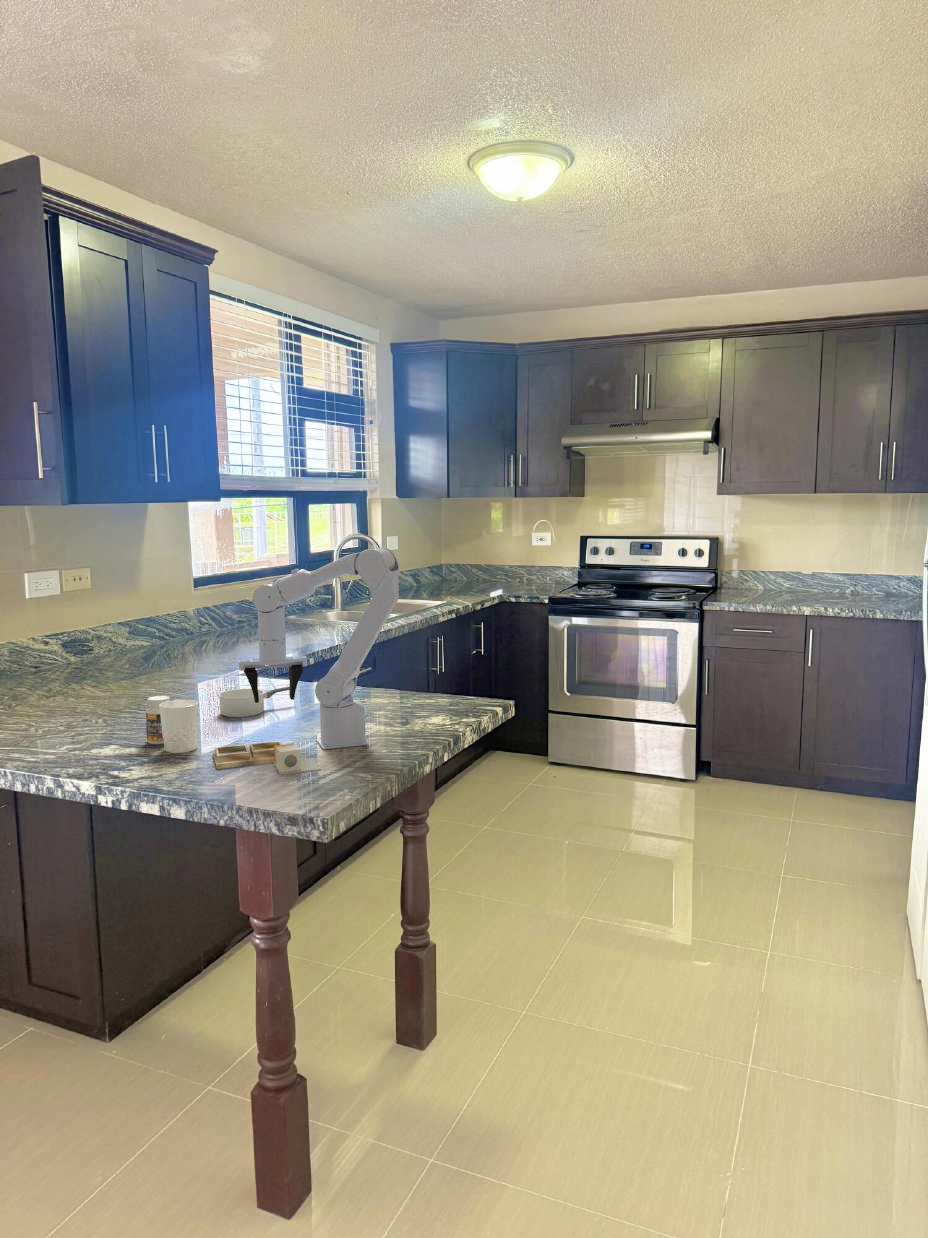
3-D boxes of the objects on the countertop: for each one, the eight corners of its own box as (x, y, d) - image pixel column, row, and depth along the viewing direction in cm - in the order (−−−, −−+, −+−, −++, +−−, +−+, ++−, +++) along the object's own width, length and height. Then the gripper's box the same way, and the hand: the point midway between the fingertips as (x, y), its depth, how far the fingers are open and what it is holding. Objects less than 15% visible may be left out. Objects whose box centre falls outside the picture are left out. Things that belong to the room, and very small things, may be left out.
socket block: (280, 748, 181) (280, 738, 180) (288, 761, 171) (287, 750, 171) (212, 755, 176) (212, 745, 175) (216, 769, 166) (216, 758, 166)
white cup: (204, 743, 185) (202, 699, 184) (194, 754, 177) (192, 707, 176) (168, 744, 185) (165, 699, 184) (156, 754, 177) (153, 708, 176)
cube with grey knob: (293, 743, 168) (300, 749, 164) (294, 762, 169) (301, 769, 164) (273, 745, 167) (280, 752, 162) (274, 765, 167) (281, 772, 163)
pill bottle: (146, 746, 184) (143, 701, 182) (148, 739, 189) (145, 696, 188) (173, 743, 185) (171, 699, 184) (174, 737, 191) (172, 694, 189)
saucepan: (304, 711, 215) (303, 689, 215) (228, 722, 204) (227, 700, 203) (286, 703, 225) (285, 682, 224) (212, 713, 213) (211, 692, 212)
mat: (313, 759, 172) (313, 758, 172) (321, 771, 165) (321, 769, 165) (273, 764, 169) (273, 762, 169) (279, 775, 162) (279, 773, 162)
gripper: (302, 634, 189) (304, 693, 191) (235, 638, 184) (238, 699, 186) (308, 638, 183) (310, 700, 184) (239, 643, 177) (242, 706, 179)
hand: (274, 700), depth 185 cm, fingers open, 7 cm apart
